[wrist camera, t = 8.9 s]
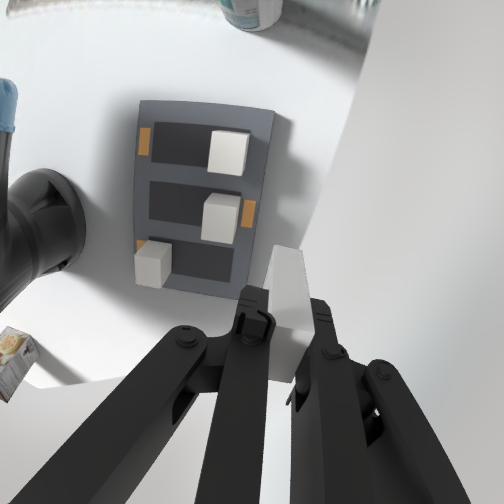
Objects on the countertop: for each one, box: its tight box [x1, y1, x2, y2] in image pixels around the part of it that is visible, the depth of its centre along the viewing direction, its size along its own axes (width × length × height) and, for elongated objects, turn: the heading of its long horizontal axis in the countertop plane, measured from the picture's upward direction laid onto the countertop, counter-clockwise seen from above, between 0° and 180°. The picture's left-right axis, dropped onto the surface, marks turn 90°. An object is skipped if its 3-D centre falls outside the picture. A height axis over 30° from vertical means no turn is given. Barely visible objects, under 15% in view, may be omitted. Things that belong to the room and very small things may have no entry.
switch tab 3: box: [201, 193, 241, 244], centre depth 28 cm, size 3×4×4 cm
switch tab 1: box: [134, 240, 172, 289], centre depth 31 cm, size 3×4×4 cm
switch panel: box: [134, 100, 275, 300], centre depth 31 cm, size 14×22×2 cm, turn 172°
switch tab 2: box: [207, 130, 250, 176], centre depth 25 cm, size 3×4×4 cm
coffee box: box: [0, 327, 40, 403], centre depth 39 cm, size 9×6×16 cm
